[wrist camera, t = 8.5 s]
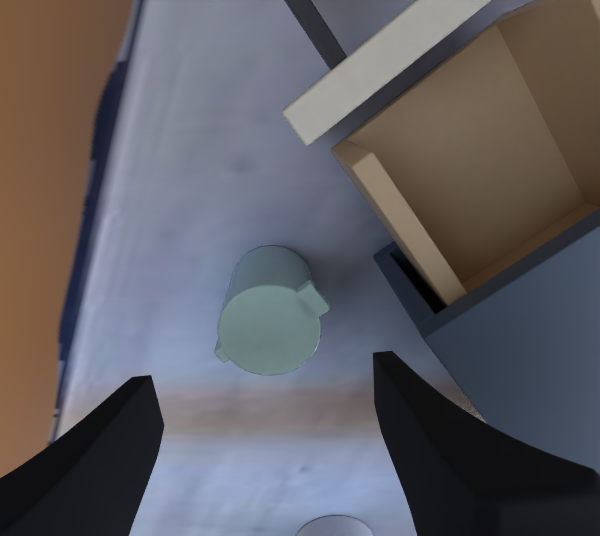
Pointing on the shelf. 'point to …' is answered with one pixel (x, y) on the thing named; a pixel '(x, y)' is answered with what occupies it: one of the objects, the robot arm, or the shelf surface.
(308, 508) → the shelf surface
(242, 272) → the cream jug
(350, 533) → the dixie cup
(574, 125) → the drawer
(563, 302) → the cabinet
